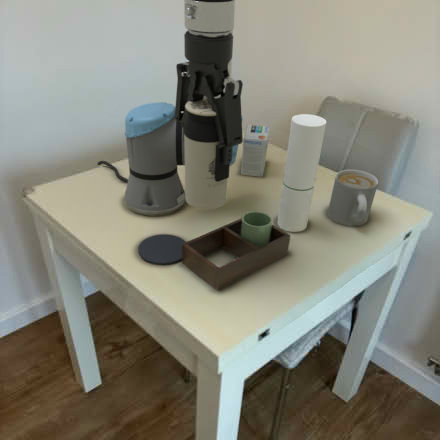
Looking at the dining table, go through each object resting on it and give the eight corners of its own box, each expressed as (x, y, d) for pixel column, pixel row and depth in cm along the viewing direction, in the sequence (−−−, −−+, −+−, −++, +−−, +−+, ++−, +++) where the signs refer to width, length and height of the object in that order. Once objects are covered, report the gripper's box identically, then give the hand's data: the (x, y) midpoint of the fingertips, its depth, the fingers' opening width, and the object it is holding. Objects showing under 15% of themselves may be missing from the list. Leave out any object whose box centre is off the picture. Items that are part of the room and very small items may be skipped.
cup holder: (182, 263, 96) (181, 243, 93) (251, 231, 107) (253, 213, 104) (217, 291, 90) (218, 271, 87) (287, 254, 100) (290, 235, 97)
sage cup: (233, 248, 101) (235, 217, 96) (254, 238, 105) (257, 208, 99) (253, 262, 98) (256, 230, 92) (274, 251, 101) (278, 220, 96)
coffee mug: (327, 203, 118) (334, 167, 112) (365, 207, 118) (375, 171, 111) (328, 230, 108) (337, 193, 102) (371, 235, 107) (382, 197, 101)
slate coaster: (128, 247, 100) (128, 245, 100) (169, 231, 106) (169, 228, 105) (157, 271, 94) (157, 269, 93) (198, 252, 100) (198, 250, 99)
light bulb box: (243, 159, 137) (246, 123, 130) (266, 161, 137) (269, 125, 130) (240, 175, 129) (242, 137, 122) (263, 177, 129) (267, 140, 122)
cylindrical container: (309, 219, 112) (328, 117, 96) (303, 234, 107) (323, 128, 91) (281, 214, 114) (295, 112, 97) (274, 228, 108) (288, 123, 92)
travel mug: (179, 193, 89) (177, 99, 78) (216, 187, 92) (220, 95, 80) (193, 213, 84) (193, 115, 72) (232, 206, 87) (238, 110, 75)
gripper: (148, 21, 73) (156, 156, 88) (238, 49, 61) (229, 198, 76) (185, 16, 77) (187, 146, 92) (275, 42, 65) (260, 185, 80)
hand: (206, 170), depth 84 cm, fingers closed on travel mug, 8 cm apart
